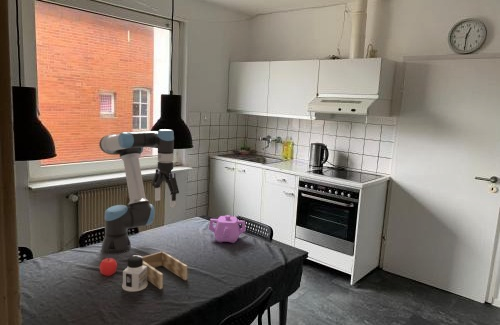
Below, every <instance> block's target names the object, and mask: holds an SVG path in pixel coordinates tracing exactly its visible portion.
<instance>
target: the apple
mask: <svg viewBox="0 0 500 325" xmlns="http://www.w3.org/2000/svg"><path fill="white" fill-rule="evenodd" d="M117 268H118V263H117V260H116V259H114V257H113V258H112V257H111V258H110V257H107V258H104V259H103V260H102V261H101V262H100V263H99V271H100V274H102V275H103V276H107V277H109V276H113V275H114V274H115V273H116V272H117Z"/></svg>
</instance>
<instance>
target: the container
mask: <svg viewBox="0 0 500 325" xmlns="http://www.w3.org/2000/svg"><path fill="white" fill-rule="evenodd" d="M142 257H143V256H141V255H138V254H136V255H135V254H134V255H131V256H129V257H128V258H127V259H126V260H127V261H126V262H127V265H126V266H127V267H126V268H125V269H124V270H123V271H122V284H123V287H127V288H132V289H140V288H141V287H142V286H143V285H144V284H145V283H146V282H148V280H147V266H143V258H142Z"/></svg>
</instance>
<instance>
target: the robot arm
mask: <svg viewBox="0 0 500 325" xmlns="http://www.w3.org/2000/svg"><path fill="white" fill-rule="evenodd" d="M174 134H175V133H174V130H173V129H166V128H164V129H163V128H162V129H159V130H150V131H133V132H132V131H125V132H120V133H117V134H115V133H114V134H112V133H111V134H107V135H105V136H103V137H101V139H100V140H99V143H98V144H99V145H98V146H99V149H100V150H101V151H102V153H104V154H107V155H111V156H113V155H114V156H115V155H117V156H118V155H119V160H122V162H123V167H124V171H125V172H124V173H125V178H126V184H127V185H126V186H127V192H128V199H129V202H128V203H127V205H124V204H117V205H112V206H110V207H108V208H107V209H105V211H104V238H103V241H102V244H101V251H102V253H105V254H110V255H111V254H112V255H115V254H116V255H117V254H118V255H119V254H123V253H126V252H129V251H130V250H131V247H132V244H131V241H130V237H129V234H128V233H129V232H128V229H133V228H134V229H135V228H141V227H146V226H149V225H151V224H152V223H153V222H154V219H155V215H156V214H155V213H156V212H155V207H154V205H153V204H151V203H150V200H148V199H147V198H146V194H145V187H144V180H143V175H142V169H141V164H140V157H141V156H142V155H141V154H142V153H143V151H144V148H157V168H156V169H155V174H154V177H153V180H152V183H151V185H152V187H153V188H154V201H155V202H159V201H161V185H162V184H163V182H165V183H166V184H167V186H168V189H169V192H170V194H169V208H171V209H172V208H176V204H177V202H176V200H177V194H180V190H179V187H178V182H177V178H176V173H172V170H174V159H175V158H174V155H175V154H174V149H175V148H174V146H175V135H174Z"/></svg>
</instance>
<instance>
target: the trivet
mask: <svg viewBox="0 0 500 325" xmlns="http://www.w3.org/2000/svg"><path fill="white" fill-rule="evenodd" d="M148 284H149V281H147V282H146V283H145V284H144V285H143V286H142V287H141V288H140V289H132V288H127V287H123V283H122V284H121V288H122V290H123V291H125V292H131V293H134V292H139V291H140V292H141V291H142V290H145V289H146V288H147V287H148V286H149V285H148Z"/></svg>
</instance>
